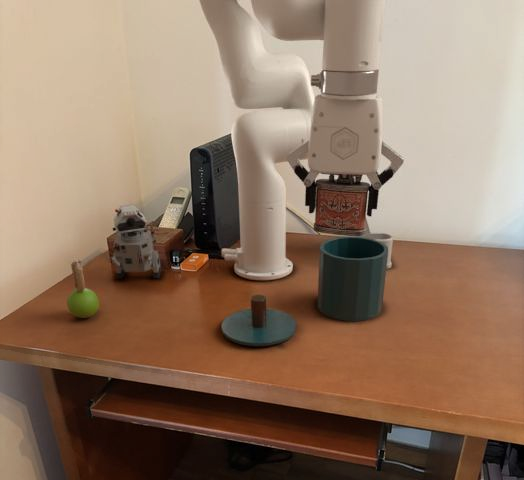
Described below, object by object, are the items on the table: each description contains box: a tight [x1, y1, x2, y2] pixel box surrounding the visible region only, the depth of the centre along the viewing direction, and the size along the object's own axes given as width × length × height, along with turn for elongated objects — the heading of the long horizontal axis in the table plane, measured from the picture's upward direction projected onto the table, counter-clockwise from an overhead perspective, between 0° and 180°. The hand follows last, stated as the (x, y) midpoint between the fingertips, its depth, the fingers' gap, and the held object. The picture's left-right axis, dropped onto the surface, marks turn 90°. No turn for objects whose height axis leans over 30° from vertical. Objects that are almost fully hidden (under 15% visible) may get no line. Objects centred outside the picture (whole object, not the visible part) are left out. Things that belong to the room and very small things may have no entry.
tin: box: [317, 236, 388, 322], centre depth 99 cm, size 12×12×12 cm
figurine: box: [111, 204, 163, 280], centre depth 111 cm, size 9×12×15 cm
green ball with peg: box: [66, 259, 100, 319], centre depth 97 cm, size 5×6×12 cm
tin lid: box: [221, 294, 297, 347], centre depth 93 cm, size 13×13×6 cm
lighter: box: [313, 173, 371, 237], centre depth 82 cm, size 8×3×10 cm, turn 70°
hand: (340, 211), depth 83 cm, fingers closed on lighter, 8 cm apart
